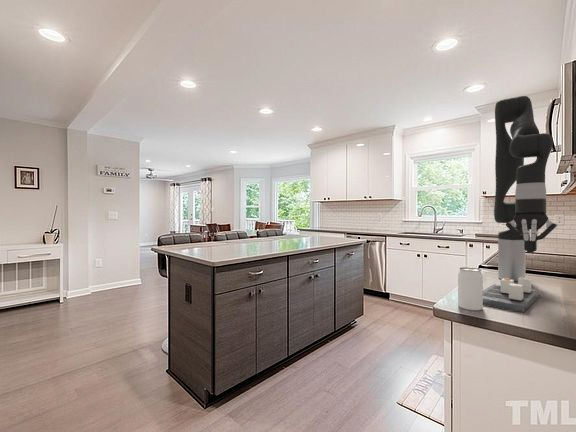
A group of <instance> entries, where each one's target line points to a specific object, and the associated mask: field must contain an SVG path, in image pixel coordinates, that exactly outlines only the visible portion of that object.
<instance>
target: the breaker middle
mask: <svg viewBox="0 0 576 432" xmlns="http://www.w3.org/2000/svg"><path fill="white" fill-rule="evenodd" d="M511 283H513V284H515V281H514V280H512V279H508V278H503V279H500V285H501V292H502V293H508V294H509V284H511Z"/></svg>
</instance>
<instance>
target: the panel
mask: <svg viewBox="0 0 576 432" xmlns="http://www.w3.org/2000/svg"><path fill="white" fill-rule="evenodd" d="M538 298H540V290H539V289H532V288H531V292H530V293H528V292H523V299H522V300H516V299H510V298H509V294H508V293H502V292H501V283H500V284H499V283H493V284H491V285H490V286H488V287H487V288H484V289H483V306H487V307H491V308H492V307H493V308H498V309H503V310H507V311H512V312H517V313H523V314H525V312H527V310H528V309H529V308H530V307H531V306H533V304H534V303H535V302H536V301H537V300H538Z"/></svg>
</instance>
